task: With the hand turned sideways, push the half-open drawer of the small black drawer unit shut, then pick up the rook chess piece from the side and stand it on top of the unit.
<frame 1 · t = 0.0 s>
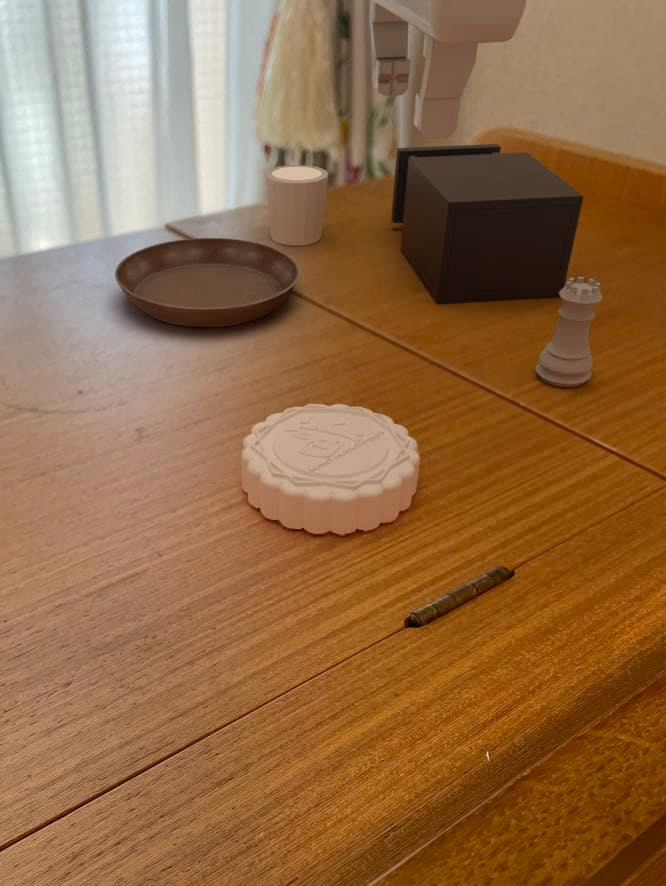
hand: (409, 112, 47), 23 cm above the table, tool pointing down, fingers open, 8 cm apart
mooncake: (328, 486, 60), on the table
cabinet: (476, 272, 90), on the table
plant saucer: (209, 300, 86), on the table
rook chess piece: (561, 378, 72), on the table
drawer: (454, 195, 95), point 5 cm above the table, slide at 6.0 cm
pale pink cup: (295, 238, 99), on the table
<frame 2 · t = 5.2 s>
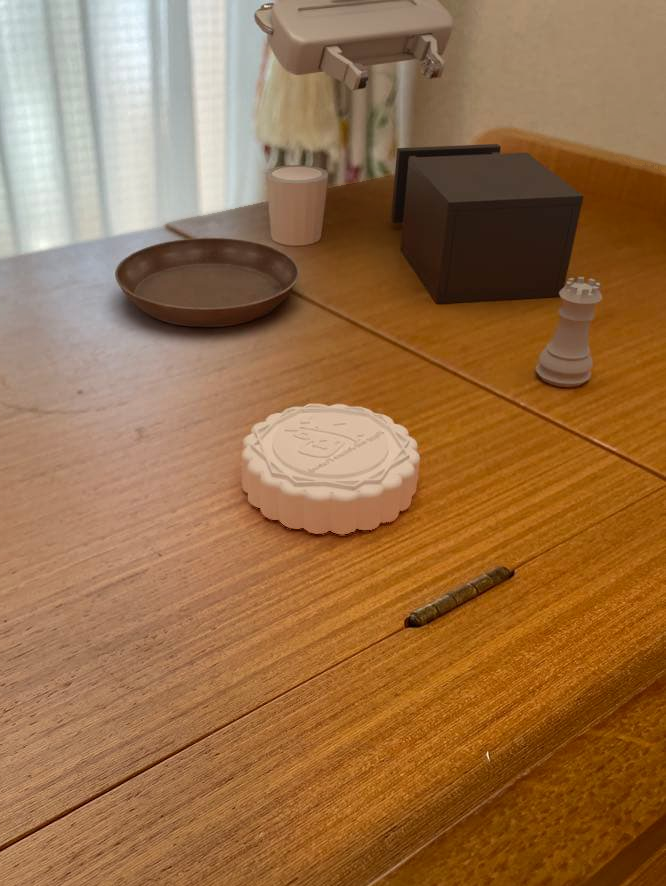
hand: (400, 77, 87), 17 cm above the table, tool tilted 65°, fingers open, 8 cm apart
nothing on the table moved.
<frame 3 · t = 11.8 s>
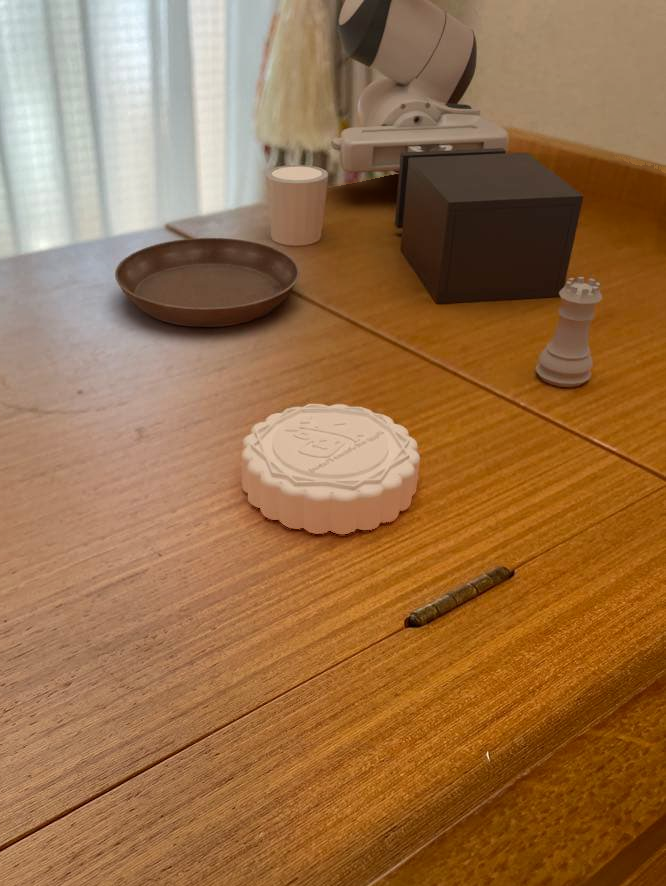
hand: (438, 165, 100), 6 cm above the table, tool horizontal, fingers closed, pressing on drawer
drawer: (459, 199, 93), point 5 cm above the table, slide at 4.3 cm, touching gripper
everything else where it was.
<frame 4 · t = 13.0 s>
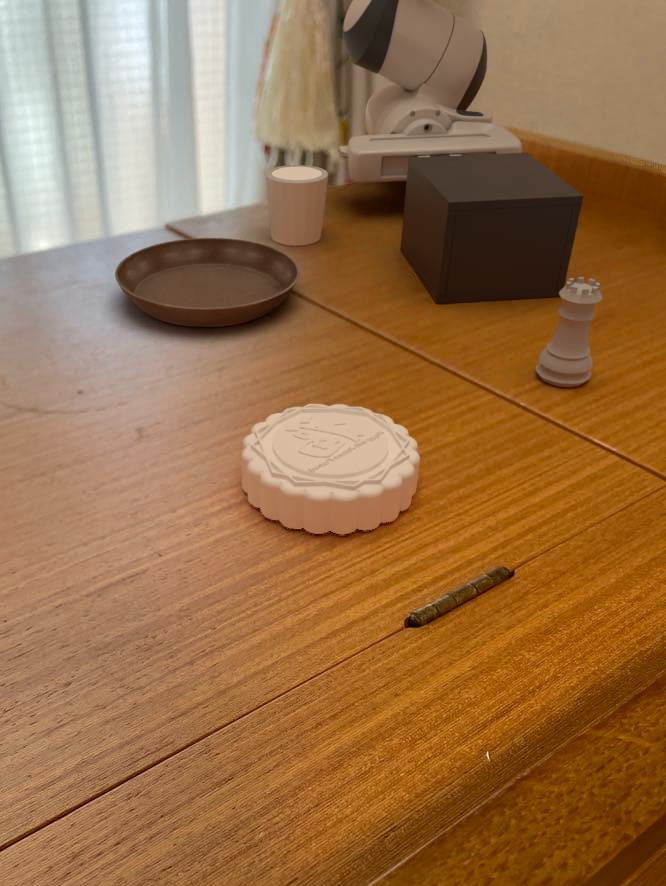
hand: (449, 176, 96), 6 cm above the table, tool horizontal, fingers closed, pressing on drawer
drawer: (471, 212, 90), point 5 cm above the table, slide at 0.0 cm, touching cabinet, gripper
everything else where it was.
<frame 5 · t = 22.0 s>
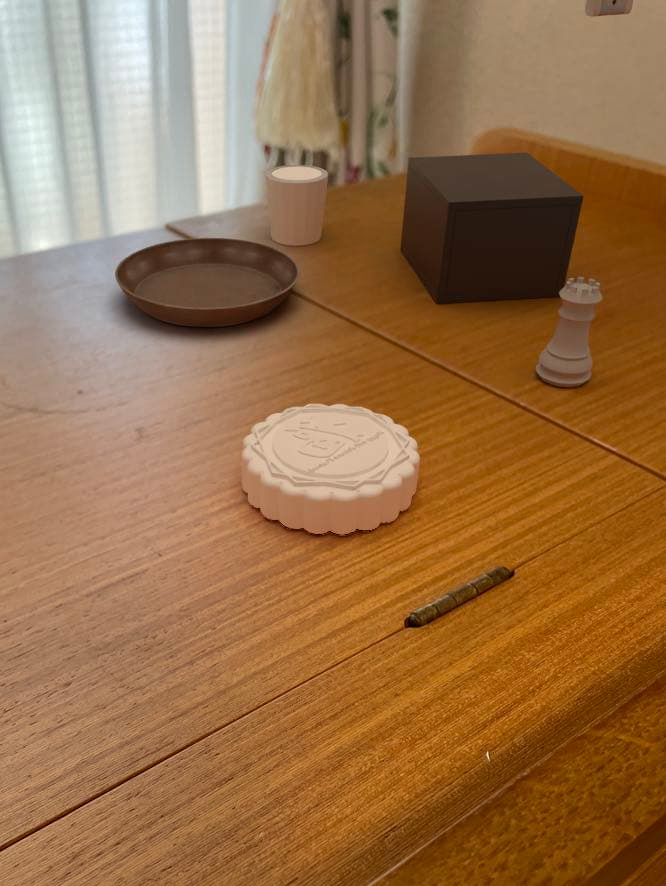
hand: (607, 14, 66), 24 cm above the table, tool pointing down, fingers closed
drawer: (471, 212, 90), point 5 cm above the table, slide at 0.0 cm, touching cabinet
everything else where it was.
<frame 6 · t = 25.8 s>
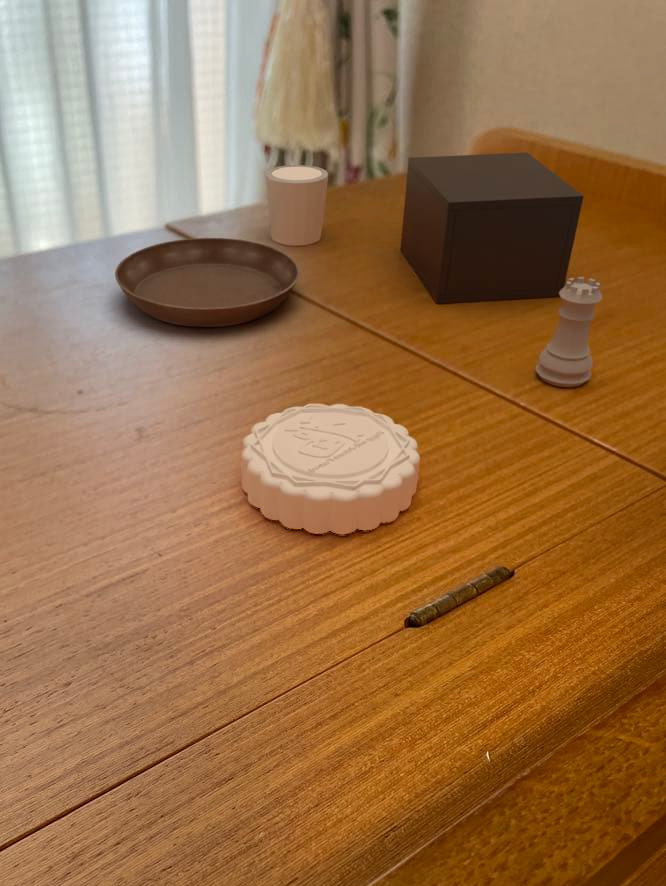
nothing on the table moved.
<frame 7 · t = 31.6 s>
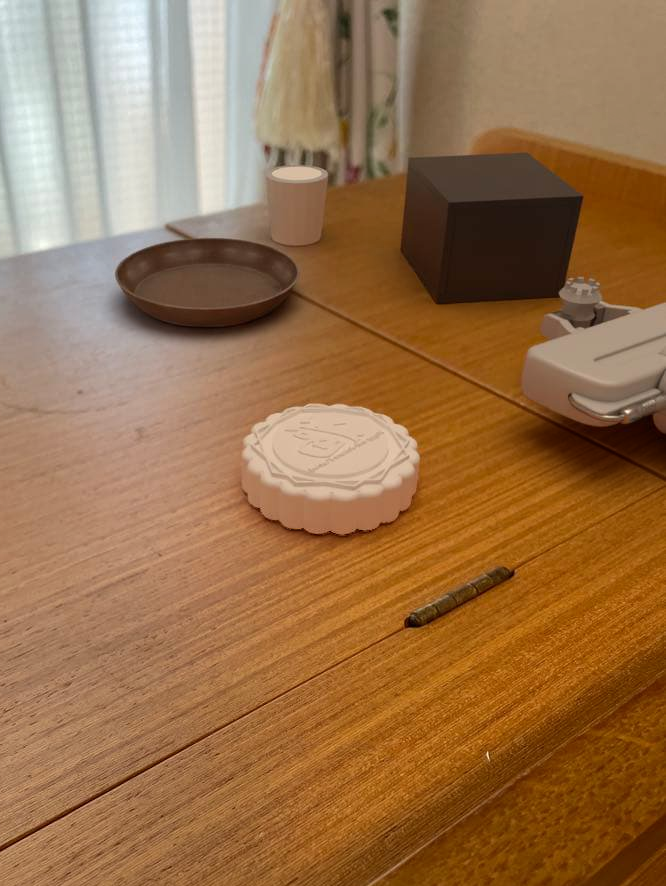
hand: (566, 315, 70), 5 cm above the table, tool horizontal, fingers closed on rook chess piece, 3 cm apart
rook chess piece: (561, 378, 72), on the table, touching gripper
everything else where it was.
when the fingers open (15 cm above the table, at t = 39.8 s): rook chess piece stays where it is, resting on cabinet.
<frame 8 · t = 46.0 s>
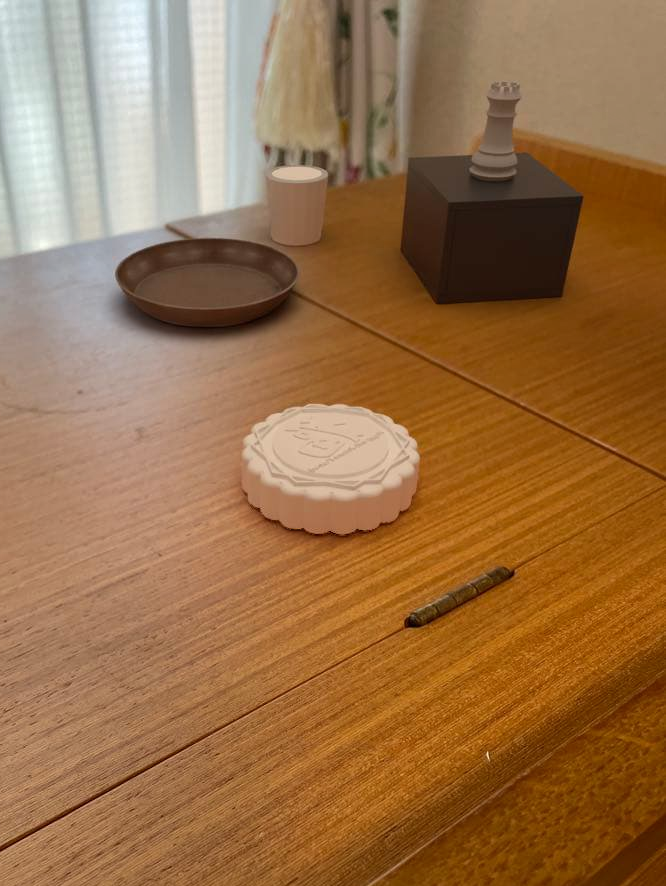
rook chess piece: (491, 177, 84), point 9 cm above the table, touching cabinet
everything else where it was.
at the end: drawer slide at 0.0 cm; rook chess piece inside the target area on the cabinet (0.2 cm from its centre), point 9.4 cm above the cabinet's base; rook chess piece tilted 0° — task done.
